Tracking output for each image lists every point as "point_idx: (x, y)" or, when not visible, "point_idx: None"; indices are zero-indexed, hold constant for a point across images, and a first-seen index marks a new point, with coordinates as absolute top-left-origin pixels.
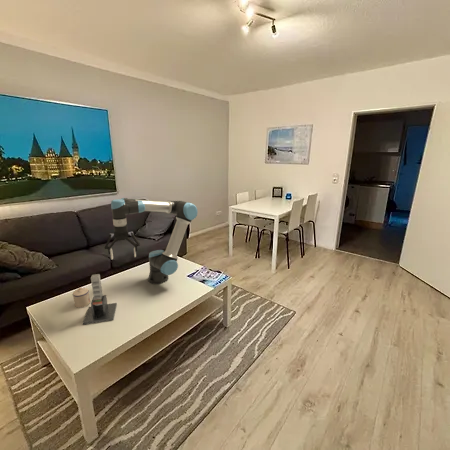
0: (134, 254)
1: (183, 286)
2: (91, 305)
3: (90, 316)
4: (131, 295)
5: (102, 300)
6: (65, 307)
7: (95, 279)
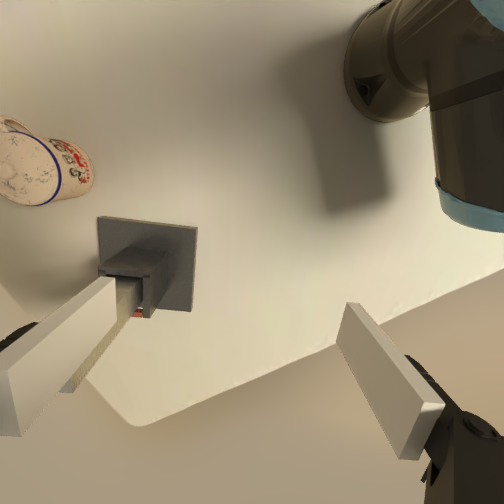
0: (350, 365)
1: None
2: None
3: None
4: (252, 179)
5: (142, 291)
6: None
7: None
